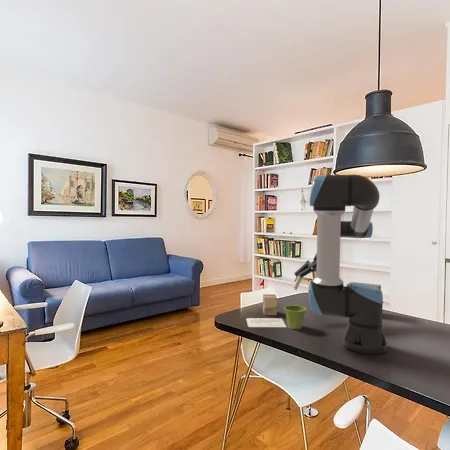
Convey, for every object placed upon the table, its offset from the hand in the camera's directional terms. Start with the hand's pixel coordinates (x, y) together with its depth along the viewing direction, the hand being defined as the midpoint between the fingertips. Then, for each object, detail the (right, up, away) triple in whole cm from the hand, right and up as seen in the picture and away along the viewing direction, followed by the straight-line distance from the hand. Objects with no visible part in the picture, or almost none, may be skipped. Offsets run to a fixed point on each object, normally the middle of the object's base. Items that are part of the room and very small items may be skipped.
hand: (307, 291), depth 150 cm
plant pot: (-7, -15, -7) cm, 18 cm away
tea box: (+32, -15, +15) cm, 39 cm away
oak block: (-16, -14, +13) cm, 25 cm away
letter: (-20, -14, -1) cm, 24 cm away
